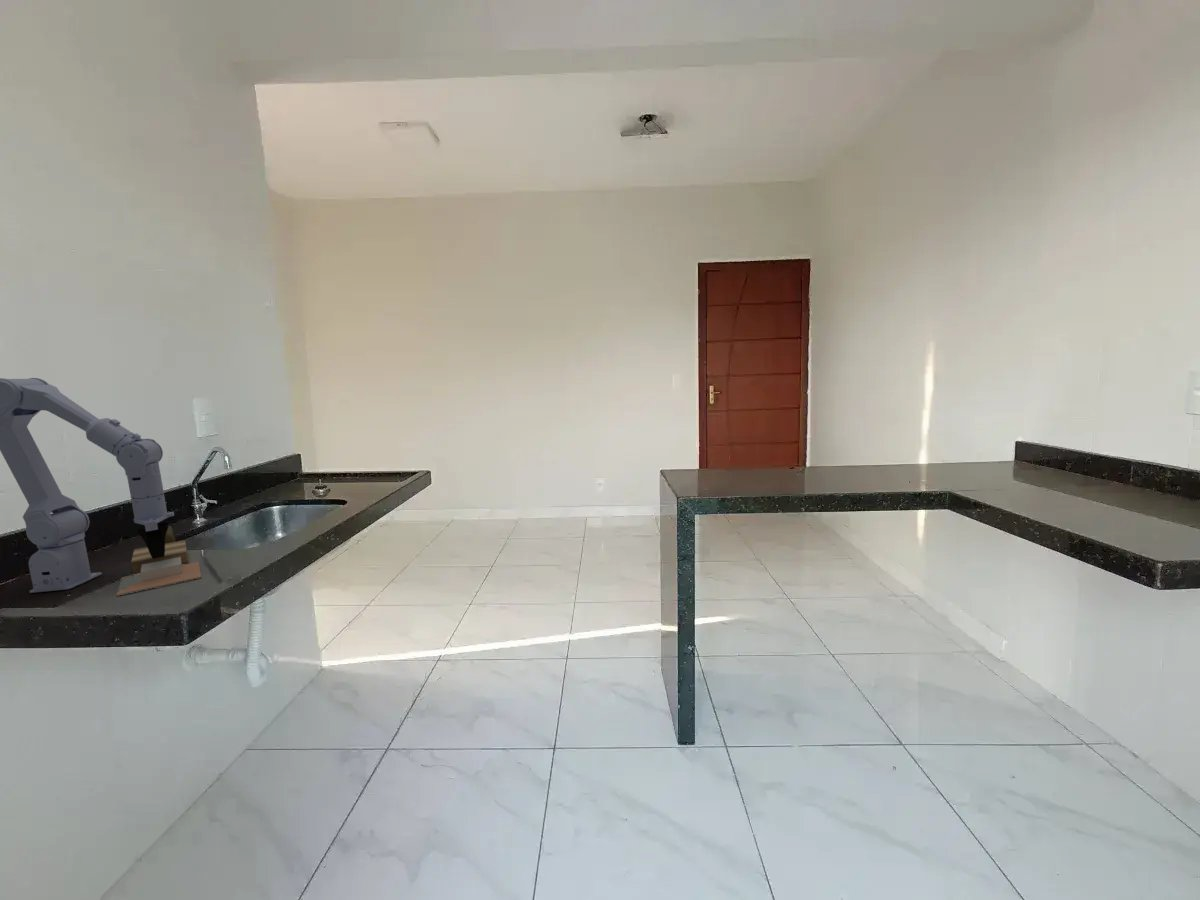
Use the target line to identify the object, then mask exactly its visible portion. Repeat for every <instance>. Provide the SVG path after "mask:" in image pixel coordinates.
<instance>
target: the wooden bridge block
mask: <svg viewBox="0 0 1200 900" xmlns="http://www.w3.org/2000/svg"><path fill="white" fill-rule="evenodd" d="M178 557H181V562H182V564H187V563H188V564H189V557H188V549H187V542H186V539H183V540H179V541H175V542H172V543H166V544H165V554H164V557H159V558H154V559H153V558H152V557H151V555H150V552H149V550H148V548H147V546H146V547H145V546H144V547H139V548H135V549H133V553H132V557H131V562H130V564H131V570H132V575H133V574H137V573H141V566H142V564H147V563H152V562H157V561H162V560H167V559H173V558H178Z"/></svg>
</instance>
